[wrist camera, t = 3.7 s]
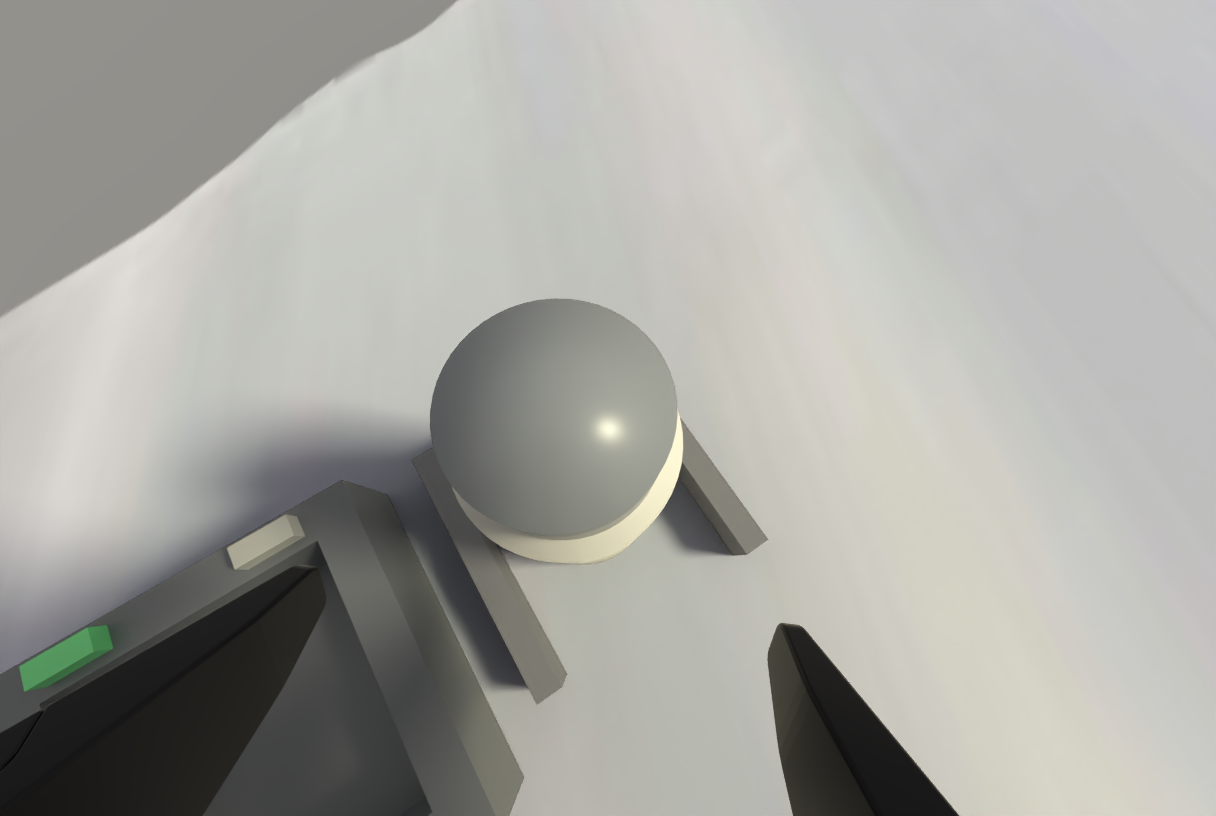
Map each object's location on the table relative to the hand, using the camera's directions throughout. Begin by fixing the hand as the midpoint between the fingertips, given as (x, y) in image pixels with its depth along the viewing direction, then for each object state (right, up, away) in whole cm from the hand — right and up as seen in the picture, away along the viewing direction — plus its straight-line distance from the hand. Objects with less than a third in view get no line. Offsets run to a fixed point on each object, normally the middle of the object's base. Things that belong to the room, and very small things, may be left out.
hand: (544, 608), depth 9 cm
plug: (0, 0, +11) cm, 11 cm away
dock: (-10, -8, +8) cm, 15 cm away
